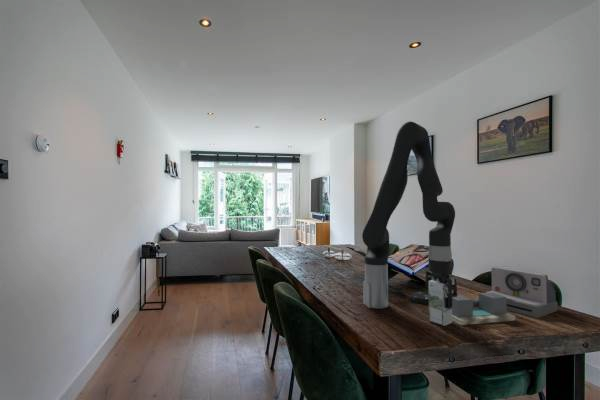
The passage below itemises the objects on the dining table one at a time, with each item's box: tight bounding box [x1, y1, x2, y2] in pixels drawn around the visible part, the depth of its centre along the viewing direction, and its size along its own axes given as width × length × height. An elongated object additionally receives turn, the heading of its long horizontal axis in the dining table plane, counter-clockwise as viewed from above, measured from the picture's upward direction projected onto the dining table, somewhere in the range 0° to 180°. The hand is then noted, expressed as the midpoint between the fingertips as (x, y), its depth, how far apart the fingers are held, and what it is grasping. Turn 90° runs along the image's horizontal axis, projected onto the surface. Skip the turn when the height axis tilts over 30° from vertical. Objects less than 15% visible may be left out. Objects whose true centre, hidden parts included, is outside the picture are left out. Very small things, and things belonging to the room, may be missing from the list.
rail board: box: [452, 292, 516, 326], centre depth 117 cm, size 22×12×8 cm, turn 101°
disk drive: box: [409, 291, 429, 306], centre depth 136 cm, size 10×3×15 cm
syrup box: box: [428, 280, 453, 327], centre depth 112 cm, size 6×6×14 cm
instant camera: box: [486, 266, 558, 319], centre depth 128 cm, size 21×21×15 cm
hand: (440, 304), depth 112 cm, fingers open, 8 cm apart
